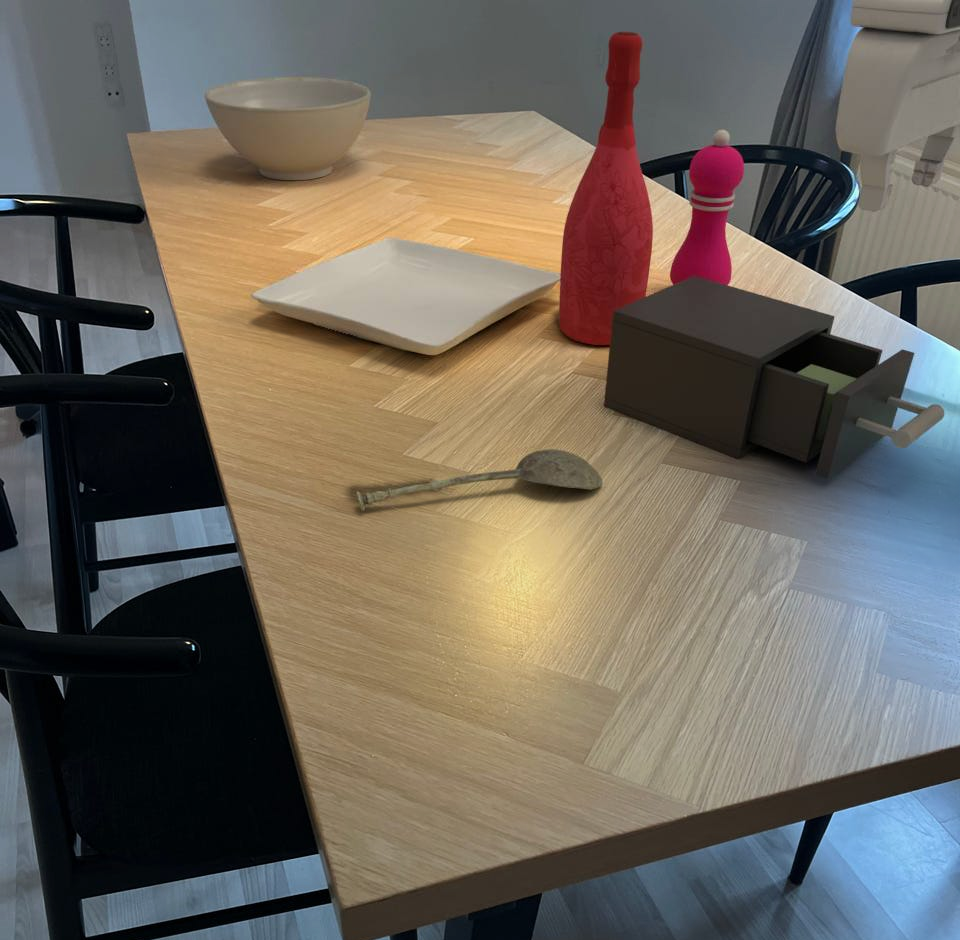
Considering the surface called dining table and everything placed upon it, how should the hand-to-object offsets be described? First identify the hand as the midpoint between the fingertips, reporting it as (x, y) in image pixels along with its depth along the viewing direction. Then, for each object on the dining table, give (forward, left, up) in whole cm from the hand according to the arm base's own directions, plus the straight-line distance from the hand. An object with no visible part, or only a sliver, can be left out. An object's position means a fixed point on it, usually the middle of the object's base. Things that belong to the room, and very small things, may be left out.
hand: (899, 196), depth 78 cm
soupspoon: (+18, +29, -23) cm, 41 cm away
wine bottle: (+33, -7, -23) cm, 41 cm away
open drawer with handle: (+2, +1, -22) cm, 22 cm away
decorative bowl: (+114, -27, -23) cm, 120 cm away
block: (0, +1, -18) cm, 18 cm away
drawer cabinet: (+13, +1, -23) cm, 26 cm away
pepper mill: (+29, -21, -23) cm, 43 cm away
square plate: (+53, +4, -23) cm, 58 cm away
